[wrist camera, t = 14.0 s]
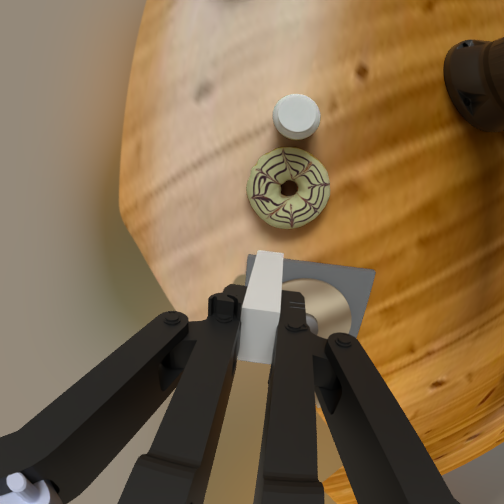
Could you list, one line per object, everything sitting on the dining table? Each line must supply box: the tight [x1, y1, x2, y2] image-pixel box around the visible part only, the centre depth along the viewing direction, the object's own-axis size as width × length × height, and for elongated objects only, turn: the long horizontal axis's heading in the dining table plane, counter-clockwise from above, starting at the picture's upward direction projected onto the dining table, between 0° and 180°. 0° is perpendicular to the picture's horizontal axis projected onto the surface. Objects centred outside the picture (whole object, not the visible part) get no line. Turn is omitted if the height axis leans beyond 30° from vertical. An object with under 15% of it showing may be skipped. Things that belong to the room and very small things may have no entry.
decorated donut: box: [246, 147, 330, 229], centre depth 38 cm, size 10×11×4 cm
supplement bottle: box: [273, 94, 320, 140], centre depth 32 cm, size 5×5×10 cm
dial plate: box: [245, 254, 376, 338], centre depth 46 cm, size 19×19×1 cm
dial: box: [282, 278, 351, 408], centre depth 41 cm, size 17×15×10 cm
